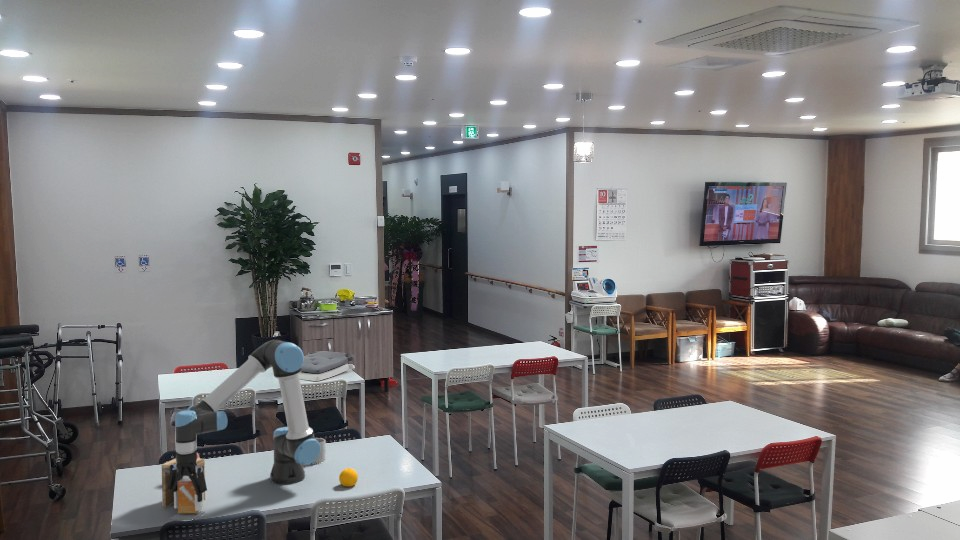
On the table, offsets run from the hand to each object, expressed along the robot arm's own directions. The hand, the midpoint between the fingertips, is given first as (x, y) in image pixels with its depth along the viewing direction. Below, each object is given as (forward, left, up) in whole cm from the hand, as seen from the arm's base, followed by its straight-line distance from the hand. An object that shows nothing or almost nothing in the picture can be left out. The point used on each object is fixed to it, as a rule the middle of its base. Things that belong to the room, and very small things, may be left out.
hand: (187, 508), depth 290 cm
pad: (0, 0, -3) cm, 3 cm away
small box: (0, -2, -2) cm, 3 cm away
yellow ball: (-46, -48, -3) cm, 67 cm away
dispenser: (+10, -11, -3) cm, 16 cm away
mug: (-16, -76, -3) cm, 78 cm away
